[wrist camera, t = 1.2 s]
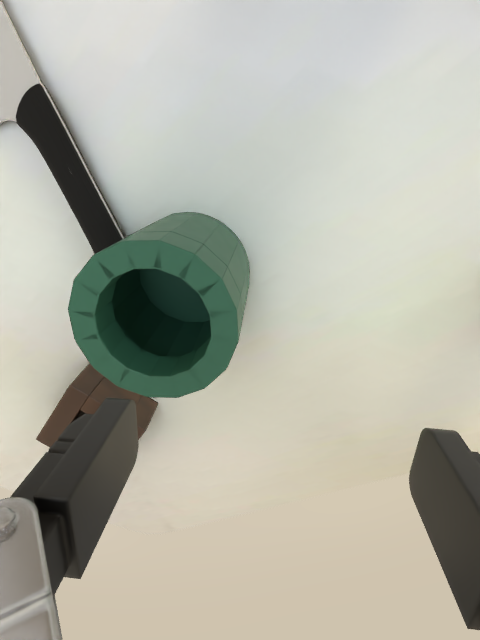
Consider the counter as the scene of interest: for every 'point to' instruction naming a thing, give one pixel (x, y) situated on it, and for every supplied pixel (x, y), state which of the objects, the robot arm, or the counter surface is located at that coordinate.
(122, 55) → the counter surface
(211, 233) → the green plastic cup
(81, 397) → the brown square ring block
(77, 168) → the kitchen cleaver
